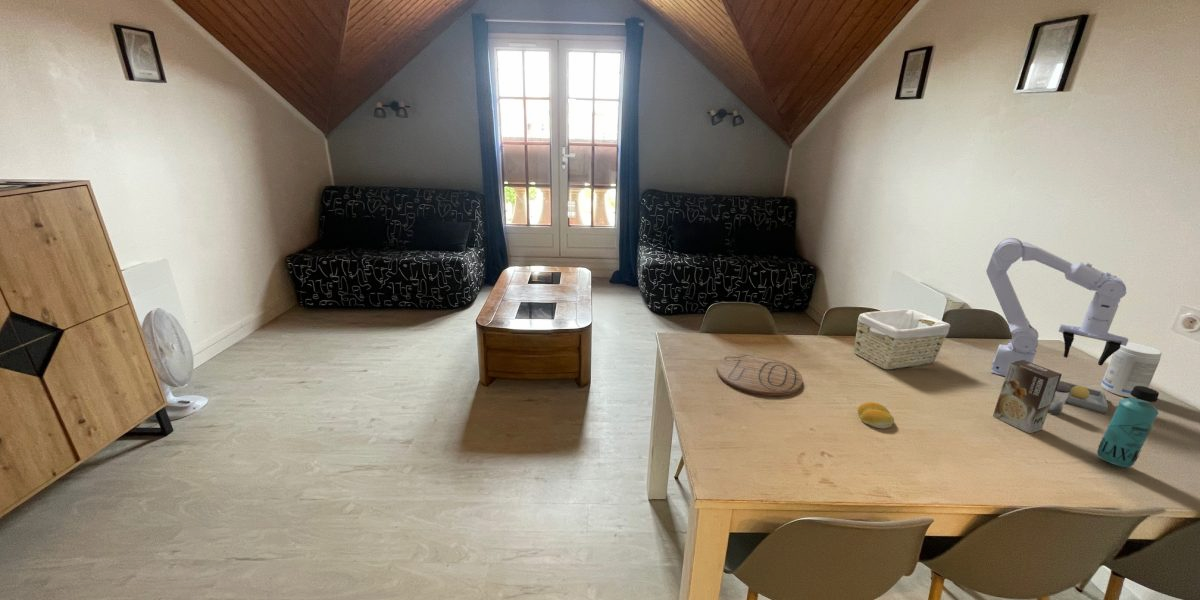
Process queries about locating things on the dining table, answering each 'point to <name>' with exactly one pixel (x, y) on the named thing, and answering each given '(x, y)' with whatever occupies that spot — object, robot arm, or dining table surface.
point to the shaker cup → (1059, 398)
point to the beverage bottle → (1129, 427)
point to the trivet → (759, 375)
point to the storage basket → (899, 338)
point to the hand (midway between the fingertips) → (1082, 360)
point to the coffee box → (1026, 395)
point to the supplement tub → (1130, 368)
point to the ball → (1079, 392)
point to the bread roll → (875, 415)
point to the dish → (1089, 400)
